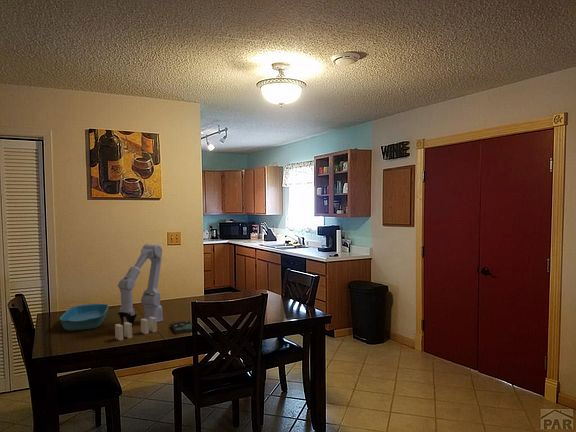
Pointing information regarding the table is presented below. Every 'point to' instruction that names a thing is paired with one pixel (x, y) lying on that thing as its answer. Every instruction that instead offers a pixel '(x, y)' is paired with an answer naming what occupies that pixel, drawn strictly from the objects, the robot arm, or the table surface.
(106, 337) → the table surface
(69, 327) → the casserole dish
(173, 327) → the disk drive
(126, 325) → the domino
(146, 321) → the domino
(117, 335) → the domino
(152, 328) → the domino
